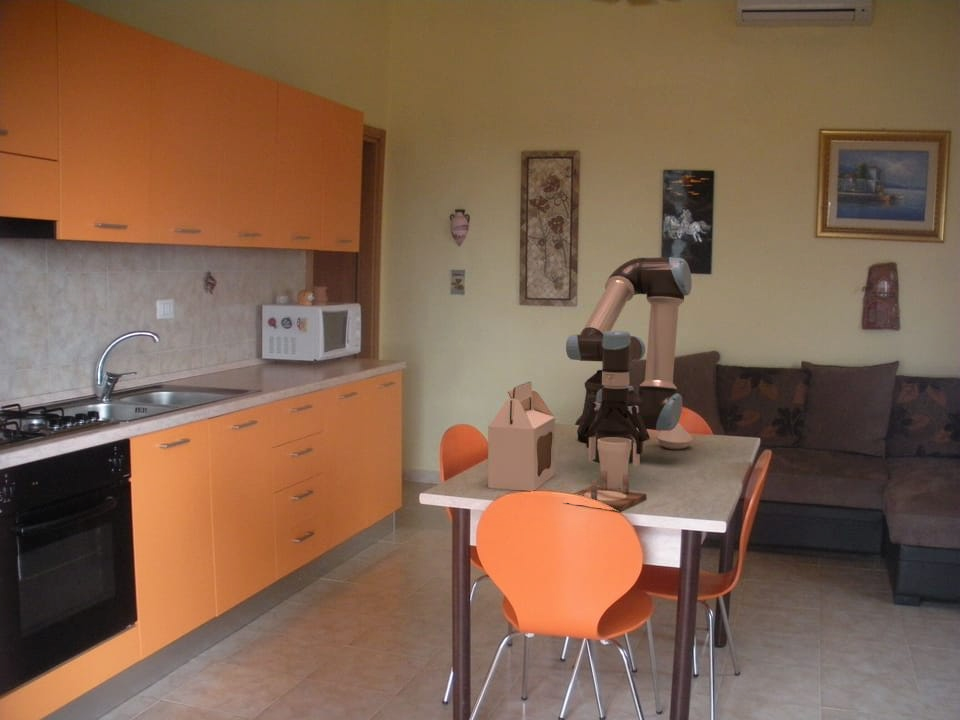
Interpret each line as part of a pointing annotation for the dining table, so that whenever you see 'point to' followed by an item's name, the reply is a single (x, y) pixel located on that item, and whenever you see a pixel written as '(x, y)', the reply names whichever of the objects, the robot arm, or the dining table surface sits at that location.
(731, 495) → the dining table surface
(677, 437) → the spoon rest
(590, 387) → the black backpack
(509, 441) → the gable box
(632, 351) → the robot arm
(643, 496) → the pin board
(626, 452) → the foam cup
